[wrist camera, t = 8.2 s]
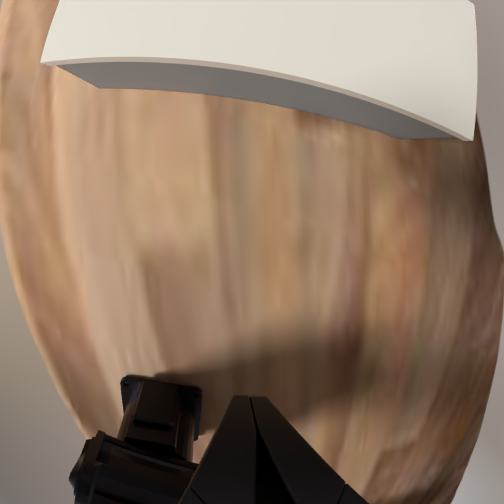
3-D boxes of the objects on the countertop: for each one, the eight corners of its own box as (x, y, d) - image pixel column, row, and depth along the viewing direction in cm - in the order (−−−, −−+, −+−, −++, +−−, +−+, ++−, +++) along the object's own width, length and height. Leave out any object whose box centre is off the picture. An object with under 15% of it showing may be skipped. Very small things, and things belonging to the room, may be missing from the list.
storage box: (401, 139, 18) (457, 137, 13) (99, 88, 16) (55, 65, 10) (410, 34, 16) (458, 9, 10) (132, -20, 14) (107, -65, 8)
